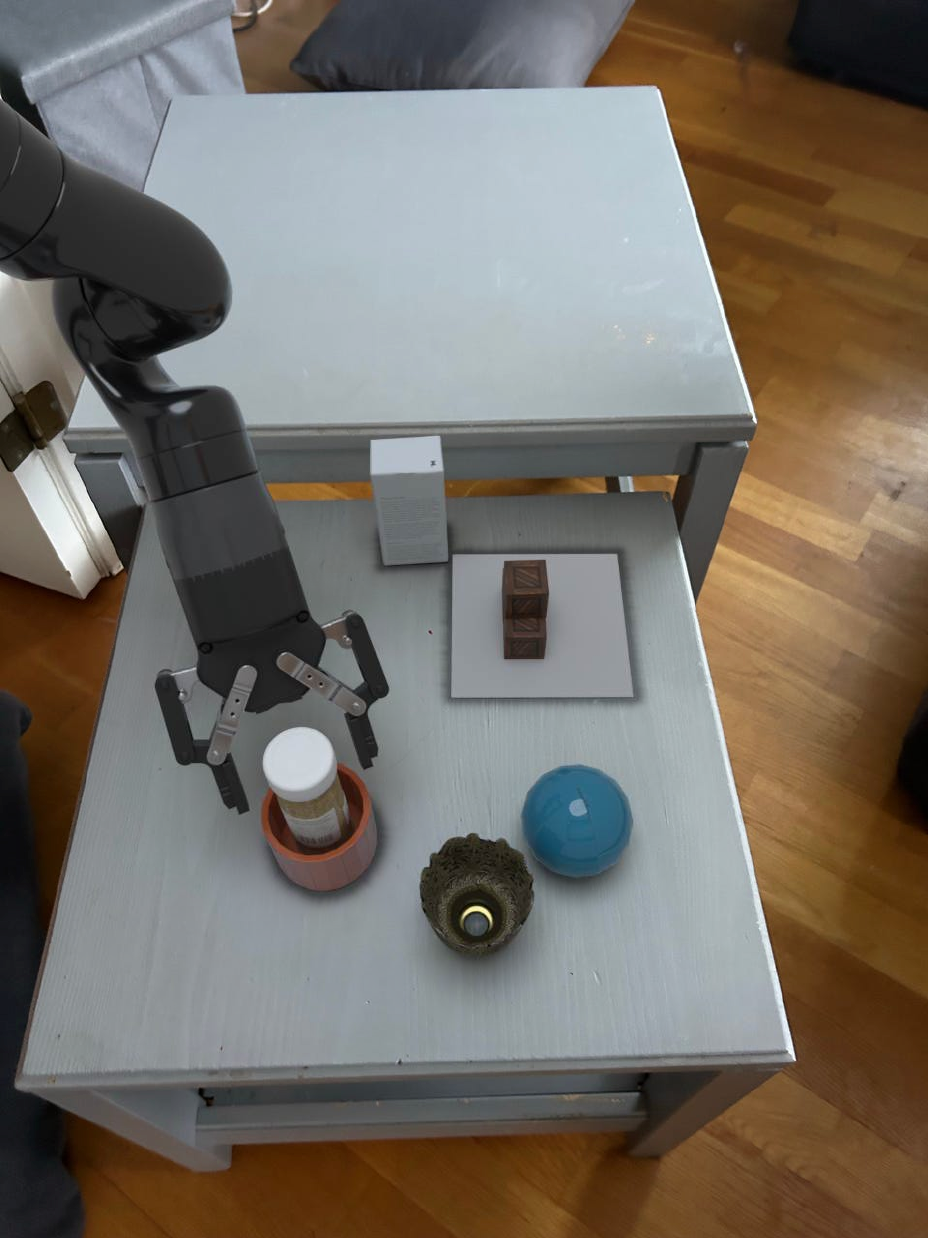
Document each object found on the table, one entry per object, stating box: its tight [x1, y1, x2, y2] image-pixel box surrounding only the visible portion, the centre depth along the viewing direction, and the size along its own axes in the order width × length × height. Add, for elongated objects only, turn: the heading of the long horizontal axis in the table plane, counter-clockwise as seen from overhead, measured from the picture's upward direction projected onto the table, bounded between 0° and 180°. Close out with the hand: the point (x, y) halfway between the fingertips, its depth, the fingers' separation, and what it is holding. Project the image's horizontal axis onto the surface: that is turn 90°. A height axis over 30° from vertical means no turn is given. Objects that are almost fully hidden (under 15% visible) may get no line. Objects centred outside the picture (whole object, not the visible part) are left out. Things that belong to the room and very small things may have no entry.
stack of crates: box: [450, 553, 634, 699], centre depth 79 cm, size 15×15×7 cm
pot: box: [260, 761, 378, 892], centre depth 68 cm, size 8×8×6 cm
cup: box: [418, 832, 535, 958], centre depth 64 cm, size 8×7×8 cm
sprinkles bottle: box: [262, 726, 355, 856], centre depth 65 cm, size 5×5×13 cm
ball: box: [520, 763, 634, 879], centre depth 67 cm, size 8×8×8 cm
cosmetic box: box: [369, 435, 449, 566], centre depth 82 cm, size 6×4×12 cm
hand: (306, 787), depth 63 cm, fingers open, 8 cm apart
